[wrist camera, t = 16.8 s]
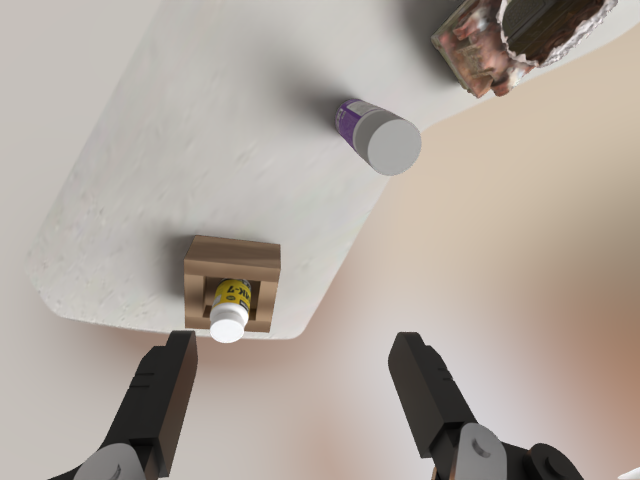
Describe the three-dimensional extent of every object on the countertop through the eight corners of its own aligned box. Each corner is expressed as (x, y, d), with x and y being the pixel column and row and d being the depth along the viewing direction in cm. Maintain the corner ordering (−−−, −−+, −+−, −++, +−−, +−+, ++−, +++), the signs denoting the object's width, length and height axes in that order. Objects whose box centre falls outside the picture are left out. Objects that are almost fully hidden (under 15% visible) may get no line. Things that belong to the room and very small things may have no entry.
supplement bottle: (257, 284, 43) (255, 327, 35) (239, 305, 44) (233, 350, 37) (228, 269, 41) (219, 311, 33) (210, 291, 42) (198, 336, 35)
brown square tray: (196, 233, 42) (183, 259, 36) (280, 243, 44) (280, 269, 39) (195, 297, 47) (185, 328, 42) (270, 302, 50) (269, 332, 44)
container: (353, 146, 38) (392, 188, 25) (326, 122, 36) (353, 153, 23) (379, 116, 36) (434, 144, 24) (352, 89, 34) (397, 103, 22)
